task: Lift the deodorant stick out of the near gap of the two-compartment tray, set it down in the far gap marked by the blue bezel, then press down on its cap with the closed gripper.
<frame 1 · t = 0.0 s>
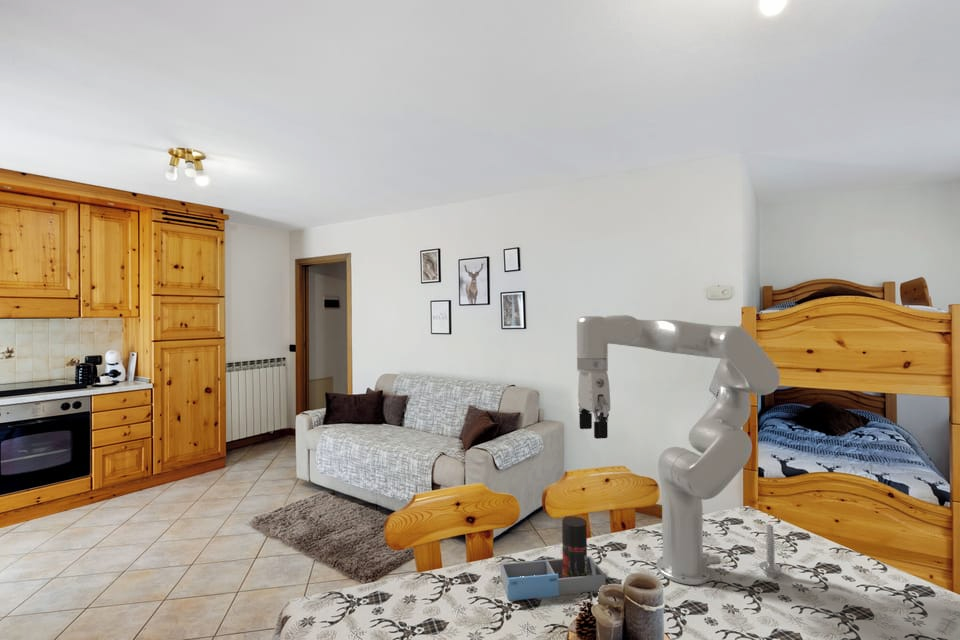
hand: (592, 433, 113), 37 cm above the table, tool pointing down, fingers open, 9 cm apart
two-compartment tray: (551, 583, 111), on the table
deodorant: (574, 582, 112), resting in two-compartment tray
screw: (770, 576, 114), on the table
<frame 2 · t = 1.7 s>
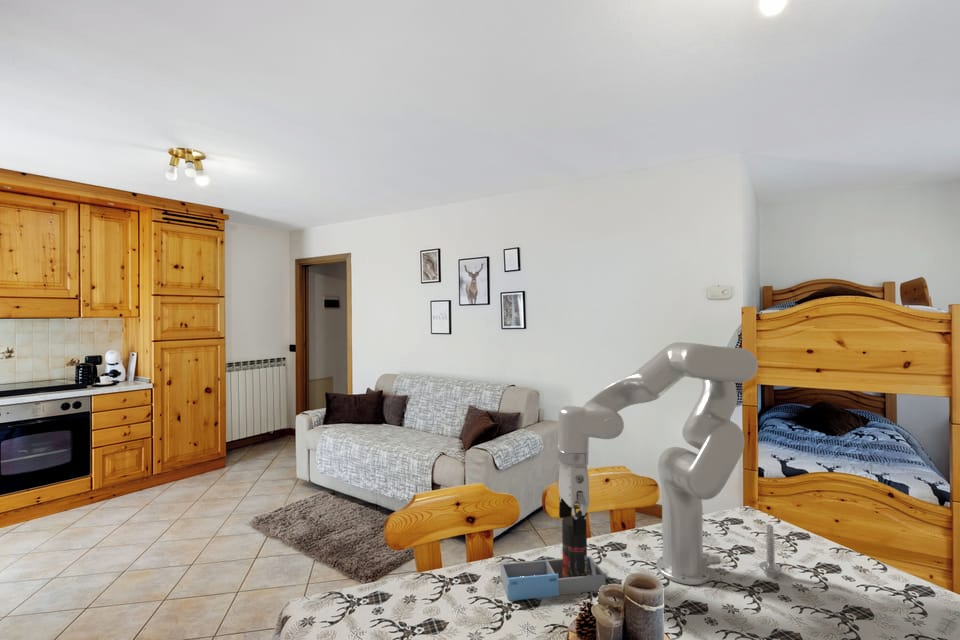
hand: (571, 525, 112), 14 cm above the table, tool pointing down, fingers open, 9 cm apart
nothing on the table moved.
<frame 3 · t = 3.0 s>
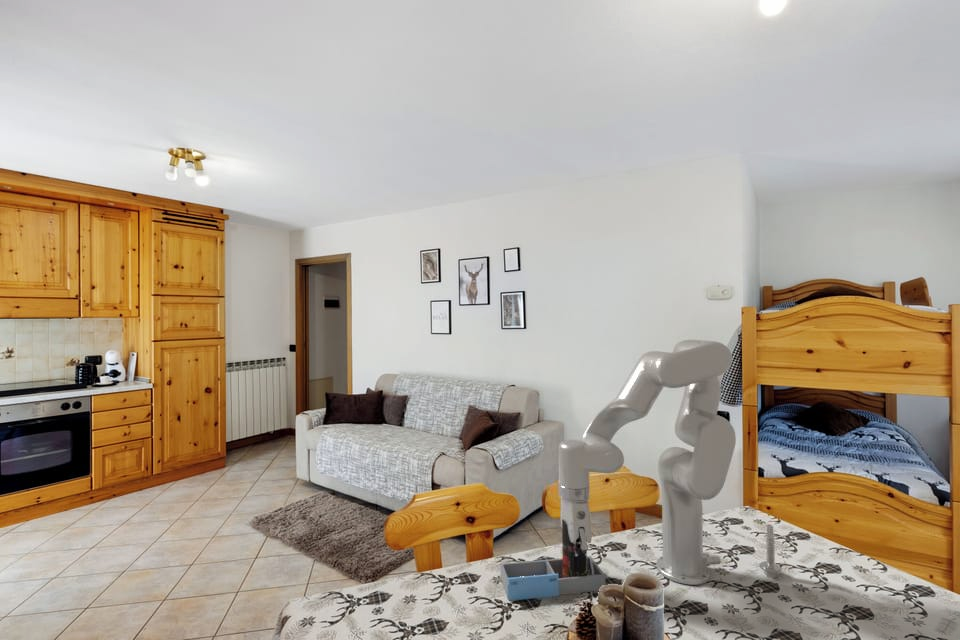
hand: (574, 563, 112), 5 cm above the table, tool pointing down, fingers closed on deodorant, 5 cm apart
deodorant: (574, 582, 112), resting in two-compartment tray, touching gripper
everything else where it was.
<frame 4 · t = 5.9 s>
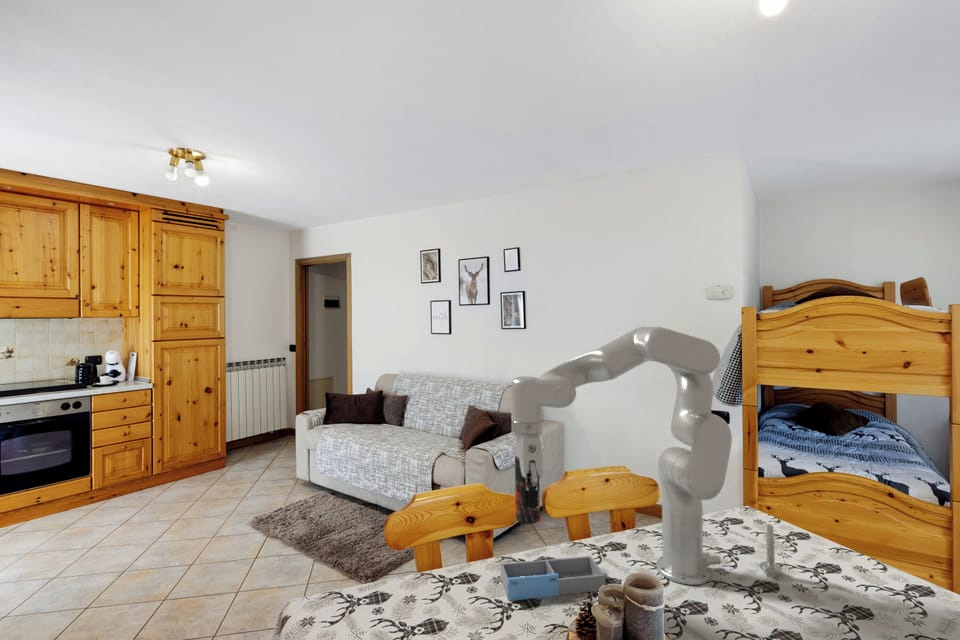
hand: (527, 500, 111), 21 cm above the table, tool pointing down, fingers closed on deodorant, 5 cm apart
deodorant: (527, 519, 110), point 16 cm above the table, touching gripper
everything else where it was.
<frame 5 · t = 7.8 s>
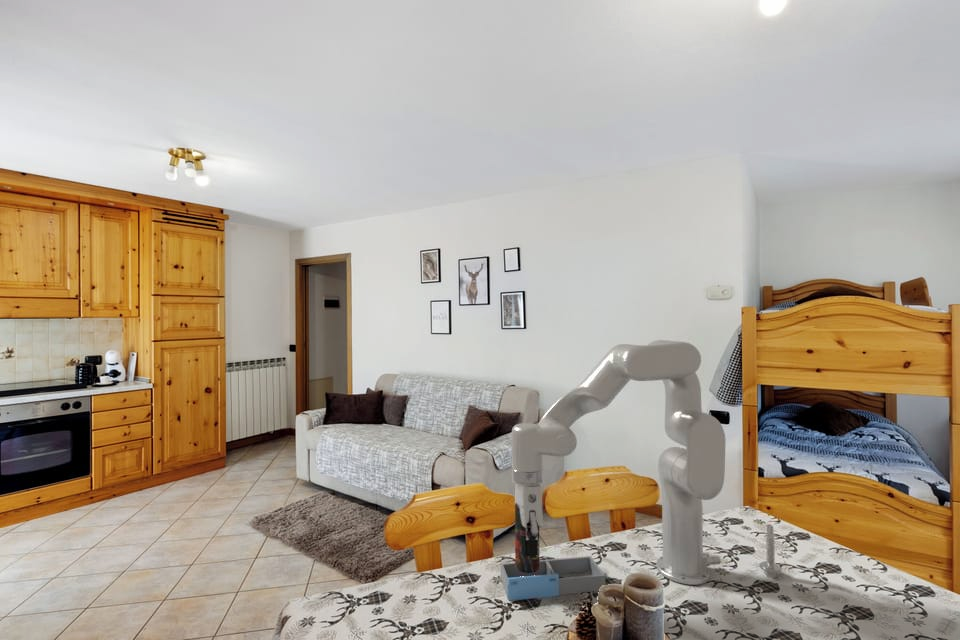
hand: (527, 547, 110), 9 cm above the table, tool pointing down, fingers closed on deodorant, 5 cm apart
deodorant: (527, 567, 110), point 5 cm above the table, touching gripper
everything else where it was.
when the fingers open (6 cm above the table, at t = 9.0 s): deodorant drops 1 cm, resting in two-compartment tray.
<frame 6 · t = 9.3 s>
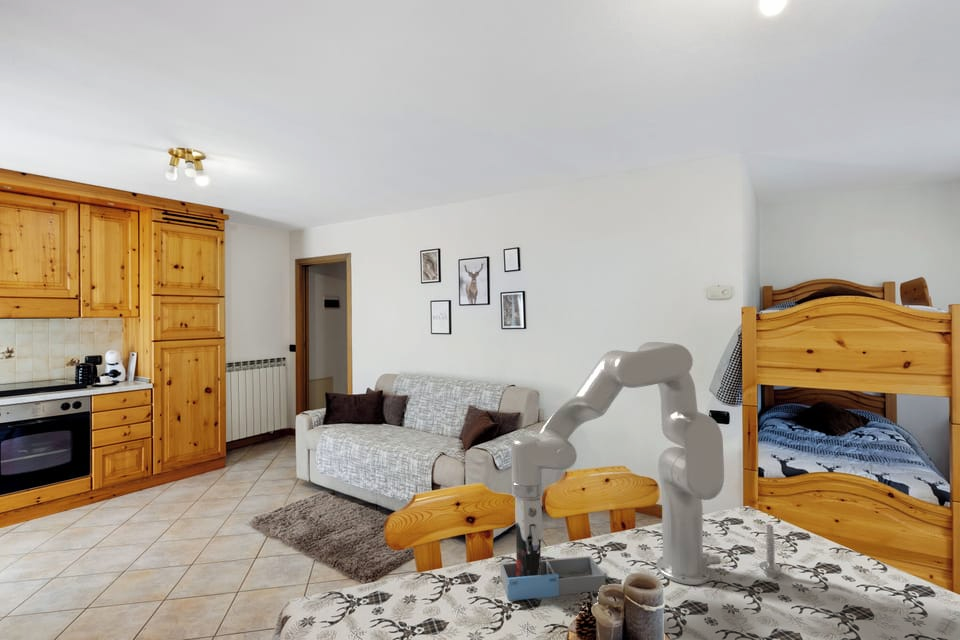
hand: (527, 559, 110), 7 cm above the table, tool pointing down, fingers open, 8 cm apart
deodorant: (528, 586, 110), resting in two-compartment tray
everything else where it was.
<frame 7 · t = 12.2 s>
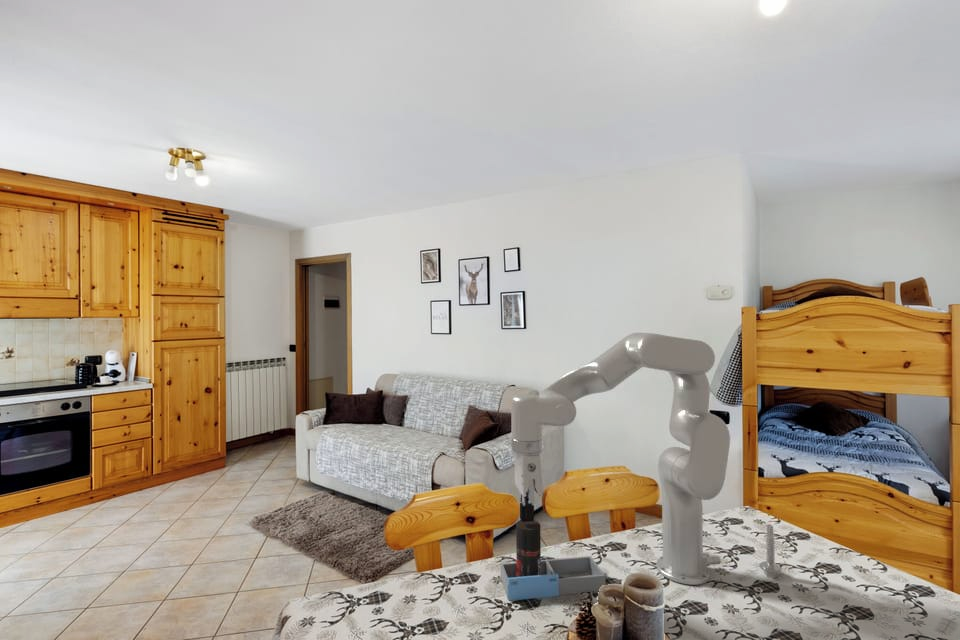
hand: (526, 520, 110), 16 cm above the table, tool pointing down, fingers closed
nothing on the table moved.
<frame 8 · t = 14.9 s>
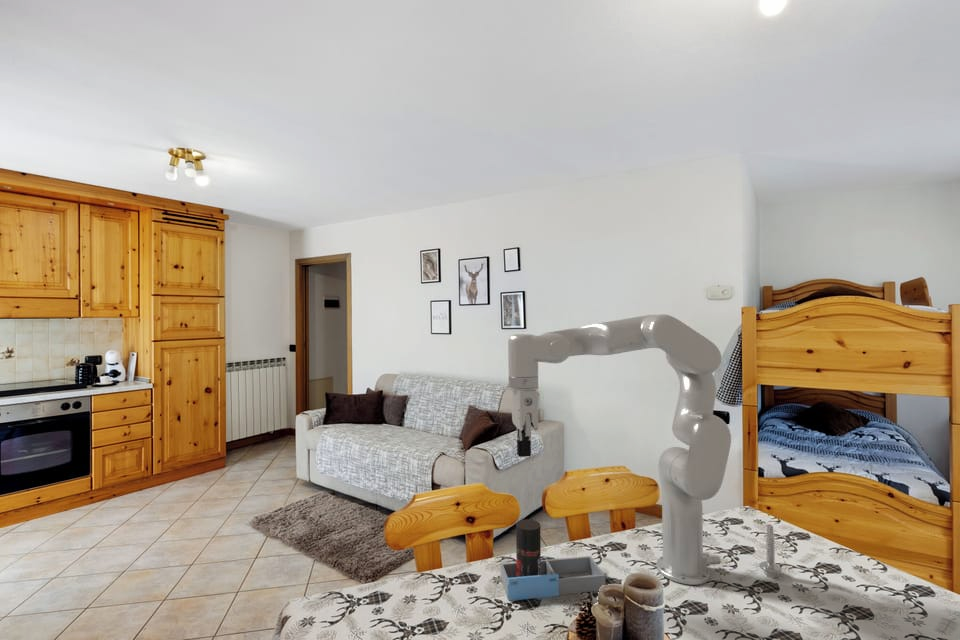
hand: (524, 455, 114), 31 cm above the table, tool pointing down, fingers closed
nothing on the table moved.
at the end: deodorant inside the target area (0.2 cm from its centre), resting in two-compartment tray; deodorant tilted 0°; the gripper is holding nothing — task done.
